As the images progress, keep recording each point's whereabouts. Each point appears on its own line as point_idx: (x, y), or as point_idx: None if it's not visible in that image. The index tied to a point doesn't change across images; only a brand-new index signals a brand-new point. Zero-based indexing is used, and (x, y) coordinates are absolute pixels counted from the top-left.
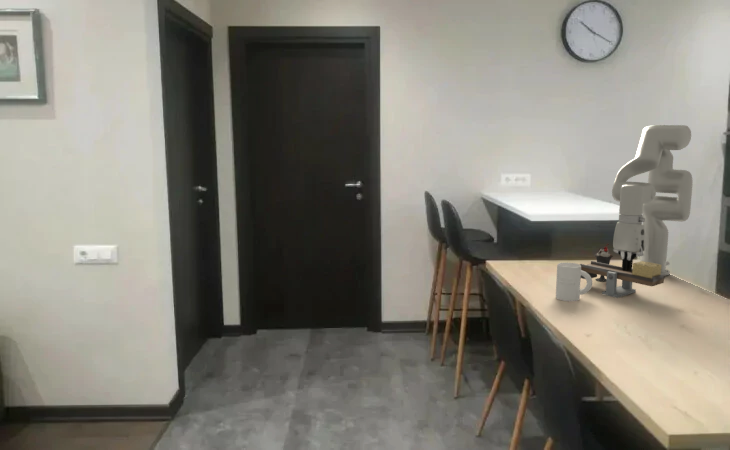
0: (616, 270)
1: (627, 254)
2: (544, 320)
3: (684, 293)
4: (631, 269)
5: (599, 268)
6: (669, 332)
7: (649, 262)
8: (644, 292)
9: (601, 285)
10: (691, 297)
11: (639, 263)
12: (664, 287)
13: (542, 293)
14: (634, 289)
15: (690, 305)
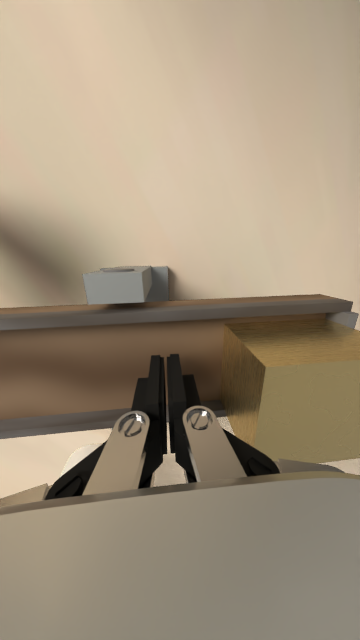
0: (89, 350)
1: (144, 457)
2: None
3: (308, 105)
4: (160, 321)
5: (43, 432)
6: (351, 470)
7: (330, 363)
8: (190, 241)
9: (29, 282)
10: (343, 156)
11: (282, 443)
12: (203, 55)
13: (31, 480)
14: (165, 271)
15: (356, 273)
